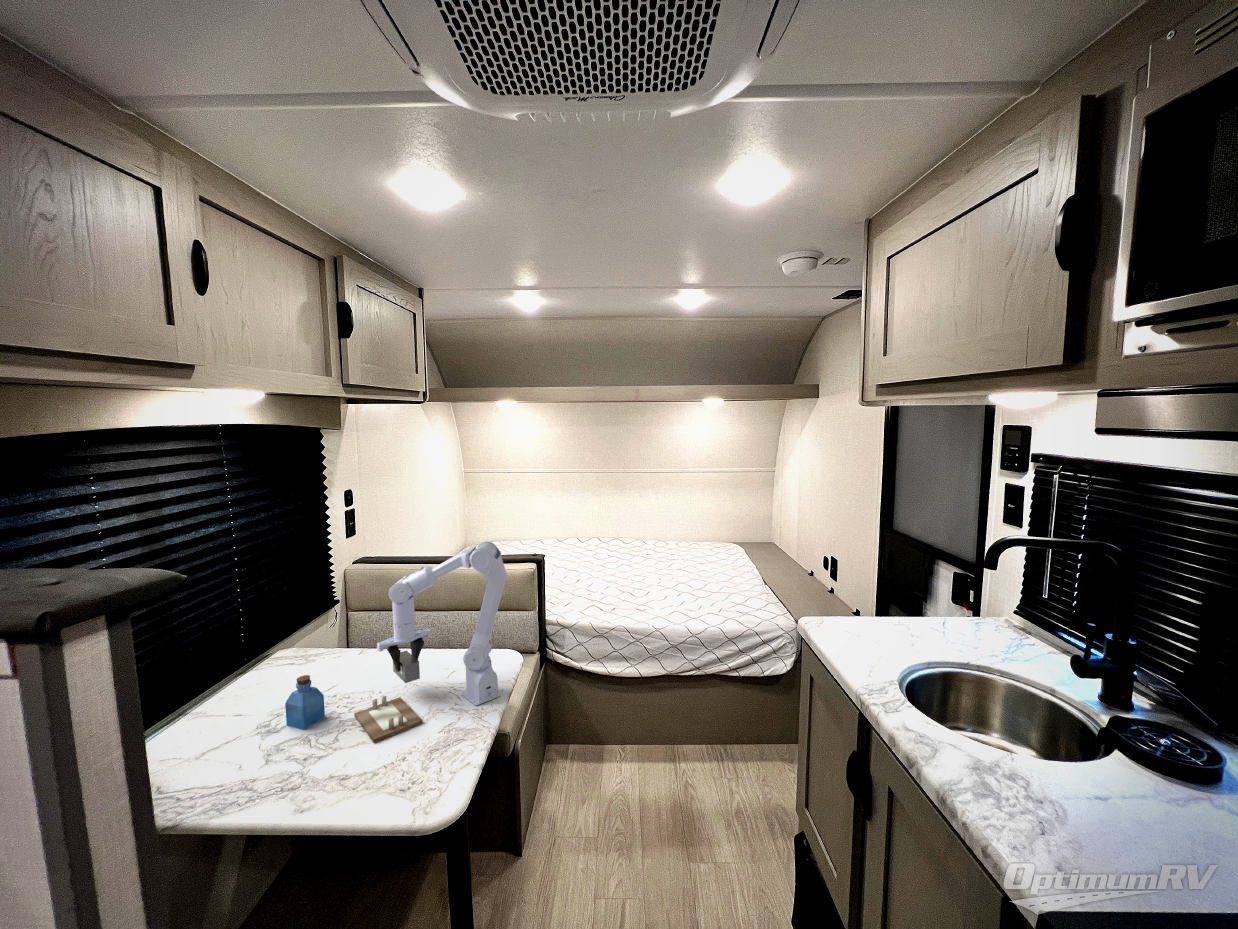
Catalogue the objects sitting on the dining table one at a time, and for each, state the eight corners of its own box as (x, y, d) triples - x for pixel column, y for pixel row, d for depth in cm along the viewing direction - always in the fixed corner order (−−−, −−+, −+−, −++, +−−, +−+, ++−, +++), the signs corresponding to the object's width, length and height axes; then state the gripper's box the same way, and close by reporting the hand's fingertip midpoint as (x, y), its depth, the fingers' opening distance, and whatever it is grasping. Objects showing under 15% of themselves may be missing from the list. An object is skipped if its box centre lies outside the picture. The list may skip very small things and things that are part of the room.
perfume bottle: (304, 730, 132) (301, 685, 131) (286, 726, 134) (283, 681, 133) (325, 717, 138) (322, 674, 137) (307, 713, 140) (305, 671, 139)
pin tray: (422, 723, 134) (421, 710, 133) (373, 743, 126) (373, 729, 125) (400, 700, 145) (399, 688, 145) (354, 717, 137) (353, 704, 137)
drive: (419, 678, 144) (419, 661, 144) (405, 683, 142) (404, 666, 141) (407, 666, 152) (406, 650, 152) (393, 671, 149) (392, 654, 149)
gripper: (423, 611, 153) (426, 655, 154) (372, 624, 144) (375, 671, 145) (433, 617, 148) (435, 663, 149) (380, 631, 138) (383, 680, 139)
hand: (406, 667), depth 146 cm, fingers closed on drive, 4 cm apart
